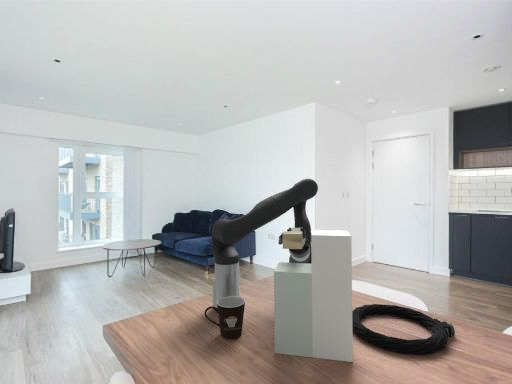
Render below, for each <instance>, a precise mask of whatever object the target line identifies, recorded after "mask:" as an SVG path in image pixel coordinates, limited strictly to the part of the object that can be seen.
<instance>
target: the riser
mask: <svg viewBox="0 0 512 384" xmlns="http://www.w3.org/2000/svg"><path fill="white" fill-rule="evenodd" d="M311 233H312V234H311V255H312V264H308V263H289V262H285V261H284V262H281V261H280V262H278V263H277V265H276V267H275V268H274V271H273V295H274V296H273V298H274V299H273V302H274V303H273V304H274V306H273V307H274V308H273V309H274V310H273V311H274V317H273V318H274V354H279V355H280V354H281V355H287V356H288V355H290V356H296V357H297V356H298V357H306V358H314V359H321V360H331V361H340V362H349V363H350V362H351V363H353V362H354V356H353V355H354V353H353V352H354V351H353V349H354V347H353V345H354V344H353V342H354V341H353V340H354V339H353V335H354V334H353V333H354V331H353V329H352V311H353V261H352V259H353V257H352V255H353V254H352V249H353V248H352V235H351V234H350V233H349V231H348V230H333V229H332V230H329V229H328V230H327V229H326V230H325V229H324V230H323V229H311Z"/></svg>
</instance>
